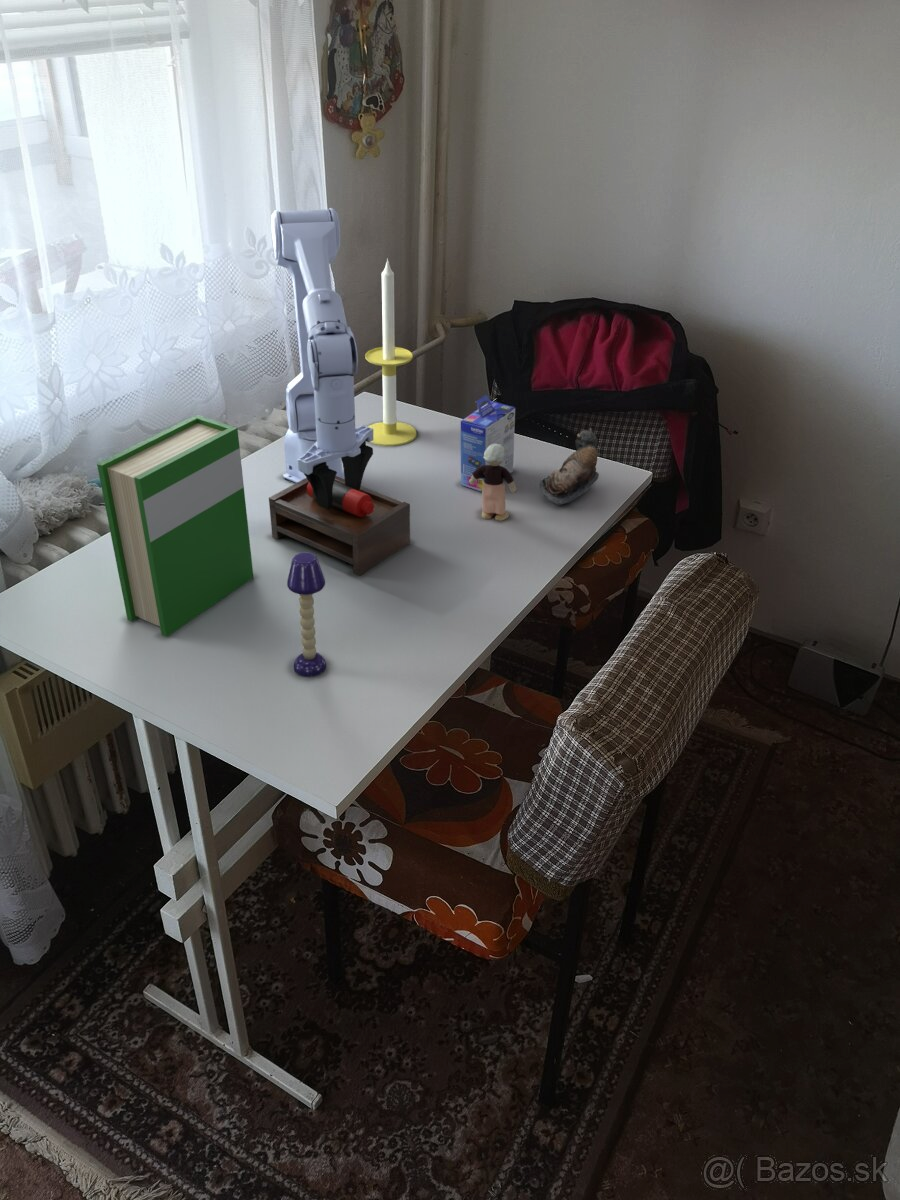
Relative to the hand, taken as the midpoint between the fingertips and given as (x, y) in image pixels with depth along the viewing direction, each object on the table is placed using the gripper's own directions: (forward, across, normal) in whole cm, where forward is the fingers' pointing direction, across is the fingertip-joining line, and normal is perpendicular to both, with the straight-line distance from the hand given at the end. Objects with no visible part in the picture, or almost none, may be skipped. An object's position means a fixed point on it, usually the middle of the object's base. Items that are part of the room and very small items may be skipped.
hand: (339, 498), depth 156 cm
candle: (+8, +34, +18) cm, 39 cm away
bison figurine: (+8, +35, -20) cm, 41 cm away
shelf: (+7, 0, 0) cm, 7 cm away
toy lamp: (+8, -26, -18) cm, 33 cm away
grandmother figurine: (+8, +21, -14) cm, 26 cm away
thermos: (+1, 0, 0) cm, 1 cm away
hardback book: (+8, -25, +6) cm, 27 cm away
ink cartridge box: (+8, +31, -6) cm, 32 cm away
